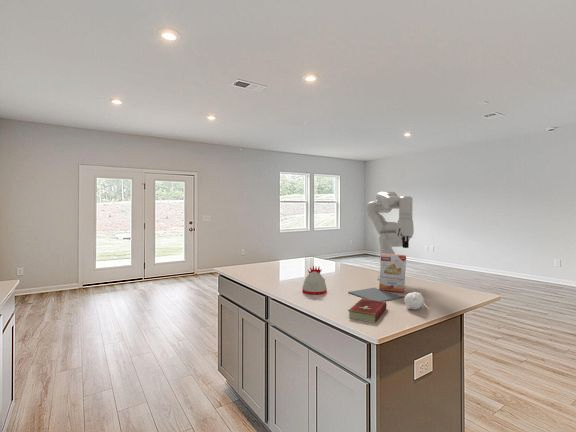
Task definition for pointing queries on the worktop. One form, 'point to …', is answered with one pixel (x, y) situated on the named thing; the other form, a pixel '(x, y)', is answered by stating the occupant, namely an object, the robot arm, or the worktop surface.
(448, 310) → the worktop surface
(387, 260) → the cracker box
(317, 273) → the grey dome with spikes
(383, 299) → the mat
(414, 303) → the crumpled paper ball
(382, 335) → the worktop surface
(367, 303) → the hardcover book
